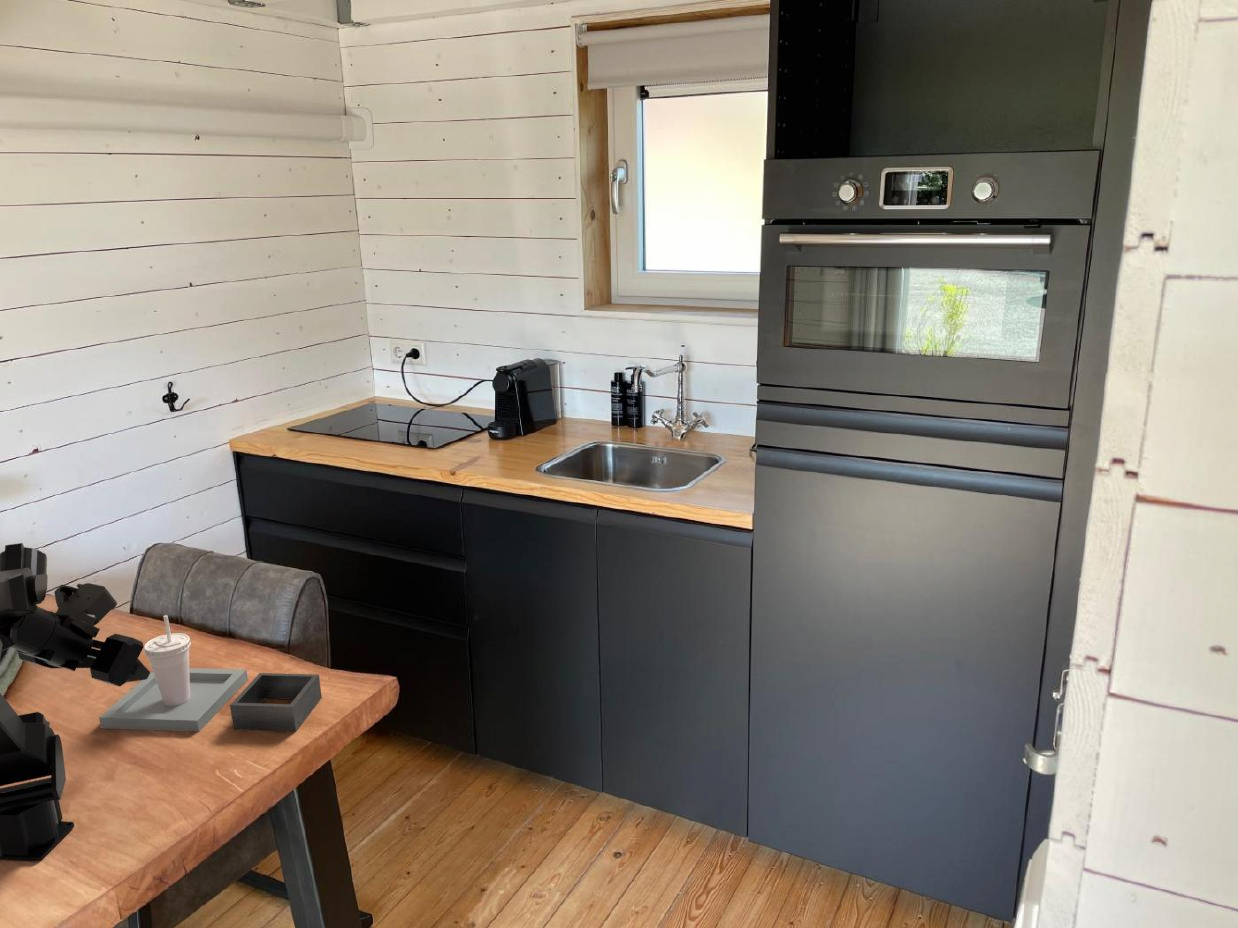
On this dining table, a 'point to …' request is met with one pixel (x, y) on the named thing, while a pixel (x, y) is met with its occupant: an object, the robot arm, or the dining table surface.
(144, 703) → the tray
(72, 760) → the dining table surface
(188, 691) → the smoothie
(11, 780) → the robot arm
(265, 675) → the cup holder
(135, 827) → the dining table surface
